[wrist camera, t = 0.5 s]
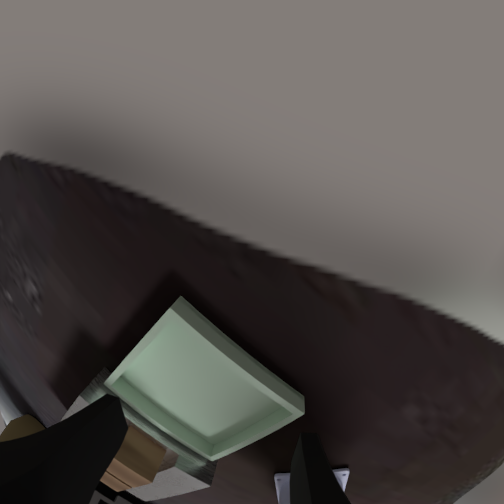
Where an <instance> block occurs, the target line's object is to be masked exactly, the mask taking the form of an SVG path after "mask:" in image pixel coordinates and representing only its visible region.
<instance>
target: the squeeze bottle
mask: <svg viewBox="0 0 504 504" xmlns="http://www.w3.org/2000/svg"><path fill="white" fill-rule="evenodd" d="M44 429H45V427H44V426H43V425H42V424H41V423H40V422H39V421H38V420H36V419H35V418H34V417H32V416H31V415H29V414H27V415H24V416H21V417H19V418H16V419H14V420H11V421H10V423H9V424H8V425H7V427H6V428H5V429H4V431H3V432H2V434H1V435H0V442H3V441H9V440H13V439H17V438H21V437H25V436H28V435H31V434H34V433H37V432H39V431H42V430H44Z"/></svg>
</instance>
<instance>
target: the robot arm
mask: <svg viewBox="0 0 504 504" xmlns="http://www.w3.org/2000/svg"><path fill="white" fill-rule="evenodd" d="M127 431H128V425H127V422H126V419H125V416H124V412H123V409H122V406H121V402H120V399H119V397H116V396H113V395H110V394H105V395H104V396H102V397H101V398H99V399H97V400H96V401H94V402H93V403H91V404H89V405H88V406H86V407H85V408H83V409H81V410H80V411H78V412H76V413H75V414H73V415H71V416H70V417H68V418H66V419H64V420H62V421H60V422H59V423H57V424H55V425H53V426H51V427H49V428H46V429H44V430H42V431H39V432H37V433H34V434H31V435H28V436H25V437H21V438H17V439H13V440H9V441H3V442H0V504H89V503H90V501H91V498H92V496H93V494H94V491H95V489H96V487H97V485H98V483H99V481H100V480H101V478H102V476H103V475H104V473H105V472H106V470H107V468H108V467H109V465H110V464H111V462H112V460H113V459H114V457H115V455H116V454H117V452H118V451H119V449H120V447H121V445H122V443H123V440H124V438H125V436H126V433H127ZM348 475H349V469H348V468H342V469H335V470H332V468H331V466H330V464H329V462H328V459H327V457H326V454H325V452H324V449H323V446H322V444H321V441H320V437H319V435H318V434H317V433H300V436H299V439H298V442H297V445H296V448H295V451H294V454H293V457H292V460H291V470H290V473H277V474H275V475H274V479H275V485H276V491H277V497H278V503H279V504H351V503H350V501H349V500H348V498H347V496H346V495H345V493H344V490H345V487H346V483H347V479H348Z"/></svg>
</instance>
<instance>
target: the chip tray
mask: <svg viewBox="0 0 504 504" xmlns="http://www.w3.org/2000/svg"><path fill="white" fill-rule="evenodd" d="M104 384H105V385H106V386H107V387H108V388H109V389H110V390H111V391H112V392H114V393H115V394H116V395H117V396H118V397H120V398H121V399H122V400H123V401H124V402H126V403H127V404H128V405H129V406H131V407H132V408H133V409H134V410H136V411H137V412H138V413H139V414H141V415H142V416H143V417H145V418H146V419H147V420H149V421H150V422H151V423H153V424H154V425H156V426H157V427H158V428H160V429H161V430H163V431H164V432H166V433H167V434H168V435H170V436H171V437H173V438H174V439H176V440H177V441H179V442H181V443H182V444H184V445H185V446H187V447H188V448H190V449H192V450H193V451H195V452H197V453H198V454H200V455H202V456H203V457H205V458H207V459H209V460H210V461H214V460H216V459H219V458H221V457H223V456H226V455H228V454H230V453H232V452H234V451H237V450H239V449H241V448H243V447H245V446H247V445H249V444H251V443H253V442H255V441H257V440H259V439H261V438H263V437H265V436H267V435H269V434H270V433H272V432H274V431H276V430H278V429H280V428H281V427H283V426H285V425H287V424H288V423H290V422H292V421H294V420H295V419H297V418H299V417H300V416H302V415H304V414H305V404H304V396H303V395H302V394H300V393H299V392H298V391H296V390H295V389H294V388H292V387H291V386H289V385H288V384H287V383H285V382H284V381H283V380H281V379H280V378H279V377H278V376H276V375H275V374H274V373H272V372H271V371H270V370H268V369H267V368H266V367H265V366H263V365H262V364H261V363H259V362H258V361H257V360H256V359H254V358H253V357H252V356H251V355H249V354H248V353H247V352H246V351H245V350H243V349H242V348H241V347H240V346H238V345H237V344H236V343H235V342H234V341H232V340H231V339H230V338H229V337H228V336H226V335H225V334H224V333H223V332H222V331H221V330H219V329H218V328H217V327H216V326H215V325H214V324H212V323H211V322H210V321H209V320H208V319H207V318H205V317H204V316H203V315H202V314H201V313H200V312H199V311H198V310H196V309H195V308H194V307H193V306H192V305H191V304H190V303H189V302H188V301H186V300H185V299H184V298H183V297H182V296H180V297H179V298H178V299H177V300H176V301H175V302H174V304H173V305H172V306H171V307H170V308H169V309H168V310H167V311H166V312H165V314H164V315H163V316H162V317H161V318H160V319H159V320H158V321H157V323H156V324H155V325H154V326H153V327H152V328H151V329H150V330H149V332H148V333H147V334H146V335H145V336H144V337H143V338H142V340H141V341H140V342H139V343H138V344H137V345H136V346H135V347H134V349H133V350H132V351H131V352H130V353H129V354H128V355H127V357H126V358H125V359H124V360H123V361H122V362H121V364H120V365H119V366H118V367H117V368H116V369H115V371H114V372H113V373H112V374H111V375H110V376H109V378H108V379H107V380H106V381H105V382H104Z"/></svg>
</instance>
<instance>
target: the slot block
mask: <svg viewBox="0 0 504 504" xmlns="http://www.w3.org/2000/svg"><path fill="white" fill-rule="evenodd" d="M111 374H112V373H111V372H110V371H109V370H108V369H107V368H106V367H104V368H103V369H102V370H101V371H100V373H99V374H98V375H97V376H96V377H95V378H94V379H93V380H92V381H91V383H90V384H89V385H88V386H87V387H86V388H85V389H84V390H83V392H82V393H81V394H80V395H79V396H78V398H77V399H76V400H75V402H74V403H73V404H72V406H71V407H70V409H69V410H68V411H67V413H66V414H65V416H64V417H63V418H62V420H64V419H66V418H68V417H70V416H71V415H73V414H75V413H76V412H78V411H80V410H81V409H83V408H85V407H86V406H88V405H89V404H91V403H93V402H94V401H96V400H97V399H99V398H101V397H102V396H104V395H105V394H110V395H113V396H116V397H118V396H117V395H116V394H115V393H114V392H112V391H111V390H110V389H109V388H108V387H107V386H106V385H105V384H104V382H105V381H106V380H107V379H108V378H109V376H110V375H111ZM119 399H120V402H121V406H122V409H123V412H124V416H125V419H126V422H127V425H128V427H129V426H130V425H131V426H132V427H133V428H135V429H136V430H137V431H139V432H140V433H142V434H143V435H144V436H146V437H147V438H149V439H150V440H151V441H153V442H154V443H156V444H157V445H159V446H160V447H162V448H163V449H165V450H166V453H165V456H164V458H163V460H162V462H161V465H160V467H159V469H158V471H157V474H156V476H155V478H154V480H153V483H150V484H146V485H143V486H139V487H135V488H133V487H132V489H128V490H126V491H128V492H129V493H131V494H133V495H135V496H136V497H138V498H140V499H142V500H143V501H151V500H157V499H162V498H167V497H171V496H176V495H180V494H184V493H188V492H192V491H196V490H199V489H203V488H206V487H210V486H211V484H212V480H213V477H214V473H215V469H216V466H217V462H218V459H216V460H214V461H210V460H209V459H207V458H205V457H203V456H202V455H200V454H198V453H197V452H195V451H193V450H192V449H190V448H188V447H187V446H185V445H184V444H182V443H181V442H179V441H177V440H176V439H174V438H173V437H171V436H170V435H168V434H167V433H166V432H164V431H163V430H161V429H160V428H158V427H157V426H156V425H154V424H153V423H151V422H150V421H149V420H147V419H146V418H145V417H143V416H142V415H141V414H139V413H138V412H137V411H136V410H134V409H133V408H132V407H131V406H129V405H128V404H127V403H126V402H124V401H123V400H122V399H121V398H120V397H119ZM62 420H61V421H62Z"/></svg>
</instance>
